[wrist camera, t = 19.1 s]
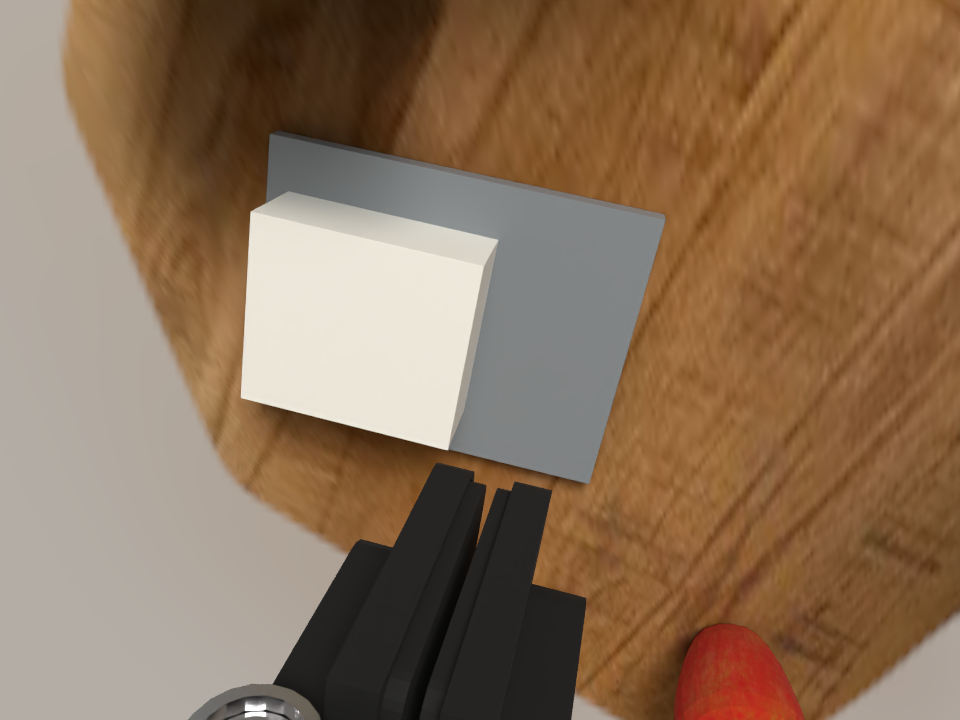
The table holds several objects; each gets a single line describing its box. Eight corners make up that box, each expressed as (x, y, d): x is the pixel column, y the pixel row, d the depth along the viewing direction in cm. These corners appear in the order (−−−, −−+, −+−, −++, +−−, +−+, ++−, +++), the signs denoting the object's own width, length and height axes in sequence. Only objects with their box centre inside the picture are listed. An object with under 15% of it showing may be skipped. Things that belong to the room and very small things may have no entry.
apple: (677, 690, 45) (687, 809, 38) (661, 608, 43) (667, 719, 36) (790, 685, 44) (821, 808, 37) (779, 599, 41) (809, 713, 35)
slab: (483, 266, 31) (250, 211, 32) (447, 450, 35) (240, 397, 36) (498, 239, 35) (288, 191, 35) (464, 409, 39) (275, 362, 39)
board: (664, 214, 34) (665, 219, 33) (589, 473, 40) (589, 484, 39) (278, 130, 35) (269, 133, 35) (263, 393, 42) (255, 401, 41)
